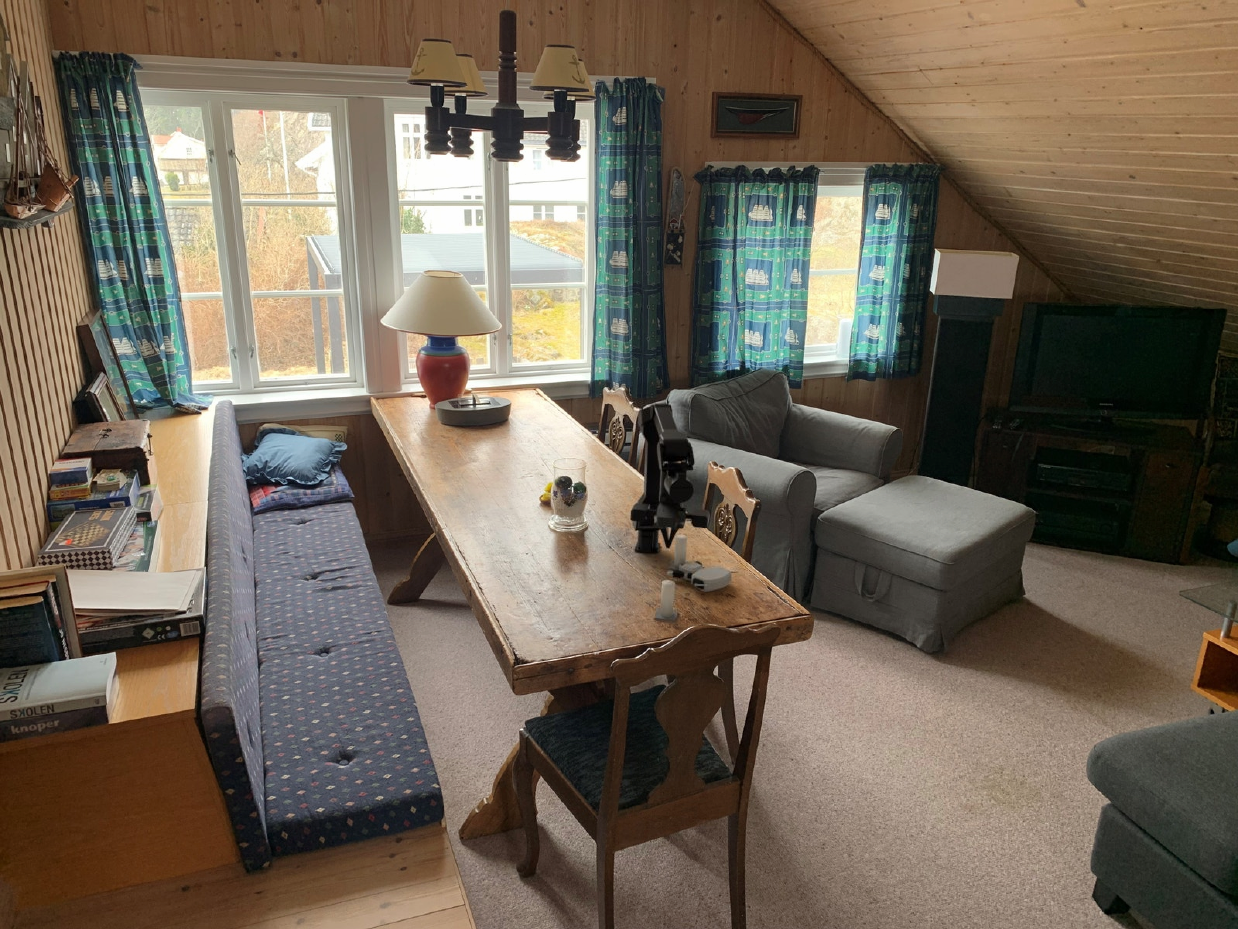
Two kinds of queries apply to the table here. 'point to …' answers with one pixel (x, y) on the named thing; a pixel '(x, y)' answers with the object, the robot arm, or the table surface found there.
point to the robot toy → (703, 575)
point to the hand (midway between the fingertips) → (668, 547)
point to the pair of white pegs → (671, 583)
